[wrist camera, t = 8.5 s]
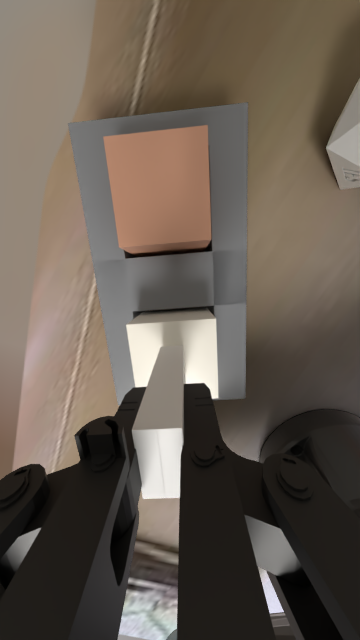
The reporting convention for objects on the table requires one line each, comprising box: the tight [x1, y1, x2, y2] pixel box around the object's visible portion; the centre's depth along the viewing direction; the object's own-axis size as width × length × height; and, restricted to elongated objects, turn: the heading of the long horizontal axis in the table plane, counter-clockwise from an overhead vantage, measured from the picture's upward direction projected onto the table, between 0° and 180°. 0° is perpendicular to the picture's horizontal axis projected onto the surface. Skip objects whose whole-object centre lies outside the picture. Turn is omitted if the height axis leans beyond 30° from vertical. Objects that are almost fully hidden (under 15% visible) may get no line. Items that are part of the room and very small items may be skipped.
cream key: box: [126, 307, 218, 399], centre depth 15 cm, size 6×6×5 cm
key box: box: [68, 102, 248, 405], centre depth 16 cm, size 12×22×4 cm, turn 4°
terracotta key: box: [103, 125, 211, 257], centre depth 13 cm, size 6×6×5 cm
